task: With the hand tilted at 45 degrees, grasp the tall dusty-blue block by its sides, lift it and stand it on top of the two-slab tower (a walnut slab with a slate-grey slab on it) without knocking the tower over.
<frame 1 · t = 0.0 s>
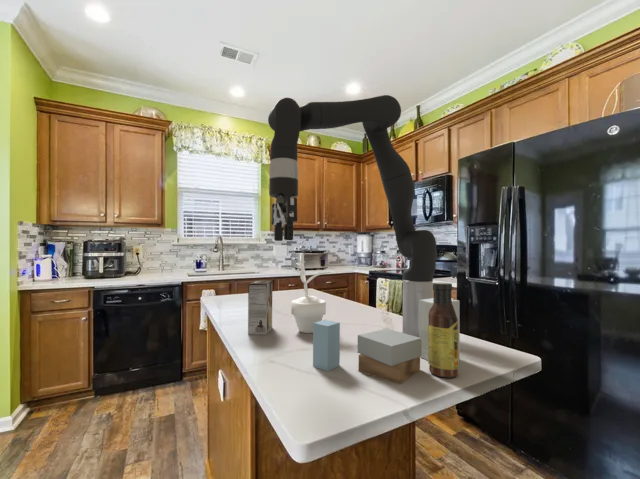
hand: (283, 240, 81), 29 cm above the countertop, tool pointing down, fingers open, 8 cm apart
coffee box: (260, 331, 102), on the countertop
sauce bottle: (443, 373, 69), on the countertop
block top: (389, 354, 70), point 4 cm above the countertop
potted plant: (310, 331, 102), on the countertop
block bottom: (389, 372, 70), on the countertop
blue block: (326, 365, 73), on the countertop
skincare box: (439, 359, 78), on the countertop
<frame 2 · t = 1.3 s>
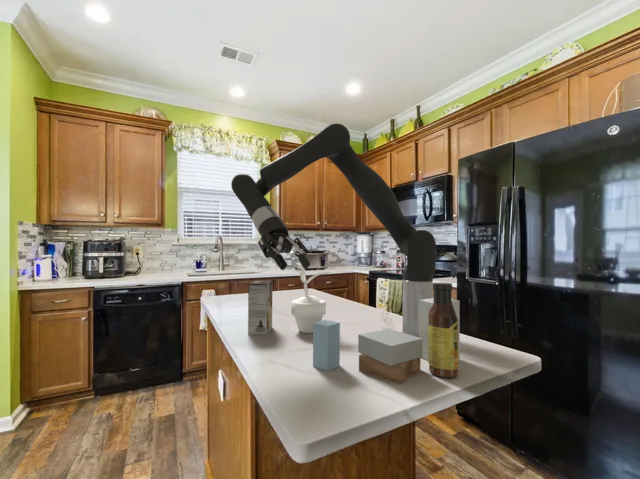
hand: (296, 267, 82), 22 cm above the countertop, tool tilted 45°, fingers open, 8 cm apart
nothing on the countertop moved.
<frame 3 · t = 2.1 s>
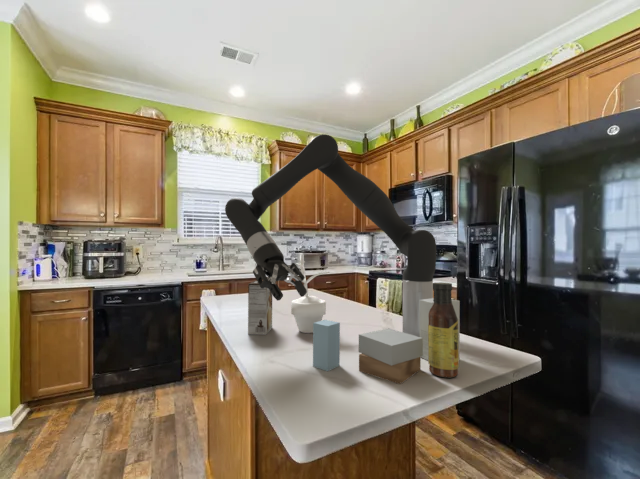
hand: (292, 296, 80), 15 cm above the countertop, tool tilted 45°, fingers open, 8 cm apart
block top: (390, 354, 70), point 4 cm above the countertop, touching block bottom
block bottom: (389, 371, 70), on the countertop, touching block top
everything else where it was.
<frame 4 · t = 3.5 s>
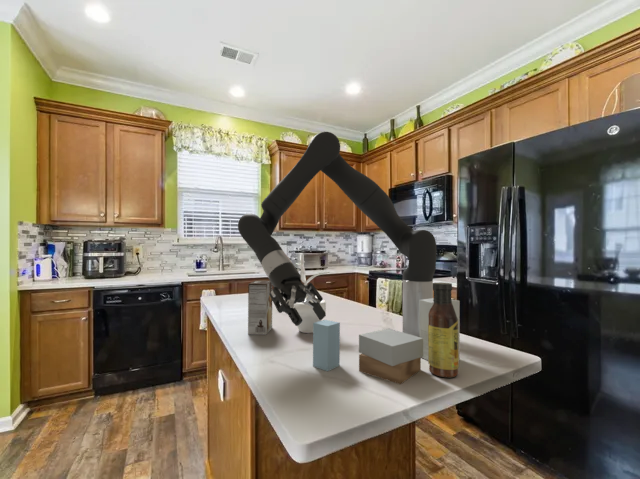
hand: (311, 320, 76), 10 cm above the countertop, tool tilted 45°, fingers open, 8 cm apart
block top: (390, 354, 70), point 4 cm above the countertop
block bottom: (390, 372, 70), on the countertop
everything else where it was.
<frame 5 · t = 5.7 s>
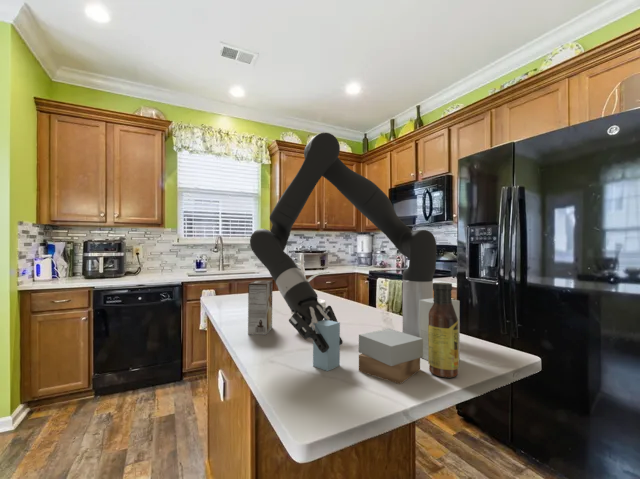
hand: (333, 347, 71), 5 cm above the countertop, tool tilted 45°, fingers closed on blue block, 4 cm apart
block top: (390, 354, 70), point 4 cm above the countertop, touching block bottom
block bottom: (389, 372, 70), on the countertop, touching block top
blue block: (326, 365, 73), on the countertop, touching gripper
everything else where it was.
when the fingers open (13 cm above the countertop, at t = 12.5 s): blue block stays where it is, point 8 cm above the countertop.
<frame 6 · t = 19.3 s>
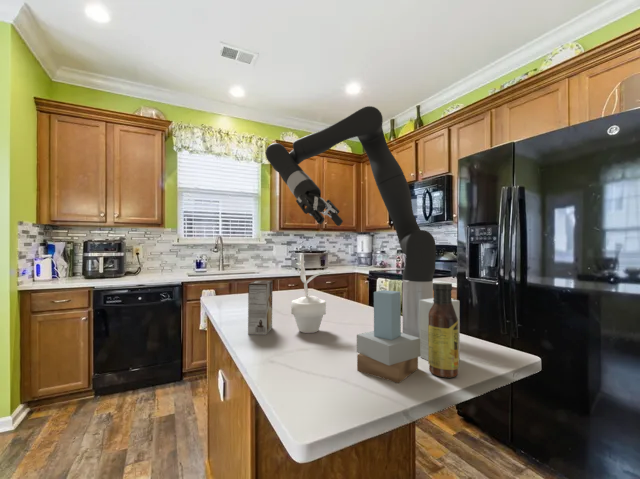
hand: (331, 222, 90), 35 cm above the countertop, tool tilted 45°, fingers open, 8 cm apart
blue block: (387, 336, 71), point 8 cm above the countertop
everything else where it was.
at the end: blue block inside the target area on the block top (0.1 cm from its centre), point 4.0 cm above the block top's base; blue block tilted 0°; block top tilted 0° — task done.
